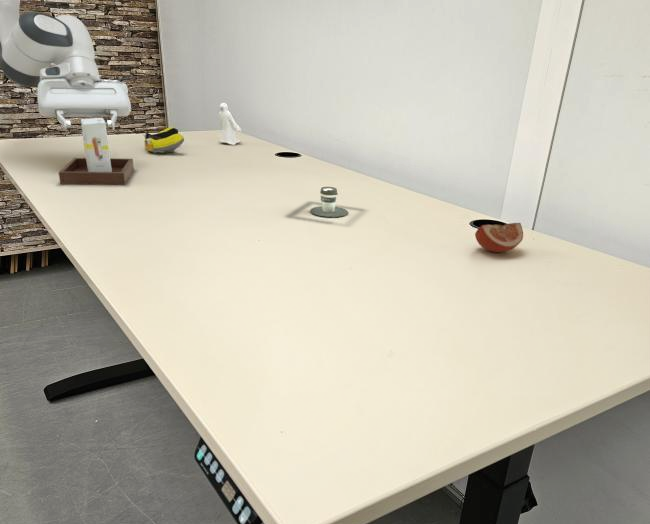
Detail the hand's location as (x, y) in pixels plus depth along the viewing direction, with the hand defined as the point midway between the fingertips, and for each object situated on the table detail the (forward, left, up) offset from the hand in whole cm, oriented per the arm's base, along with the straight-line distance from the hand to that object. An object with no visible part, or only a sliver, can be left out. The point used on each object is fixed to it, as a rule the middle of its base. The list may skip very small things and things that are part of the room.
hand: (90, 129), depth 136 cm
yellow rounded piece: (+14, +29, -10) cm, 33 cm away
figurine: (+33, +43, -10) cm, 55 cm away
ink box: (+2, -4, -9) cm, 10 cm away
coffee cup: (+51, -33, -10) cm, 61 cm away
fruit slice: (+77, -57, -10) cm, 96 cm away
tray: (+2, -4, -10) cm, 11 cm away
